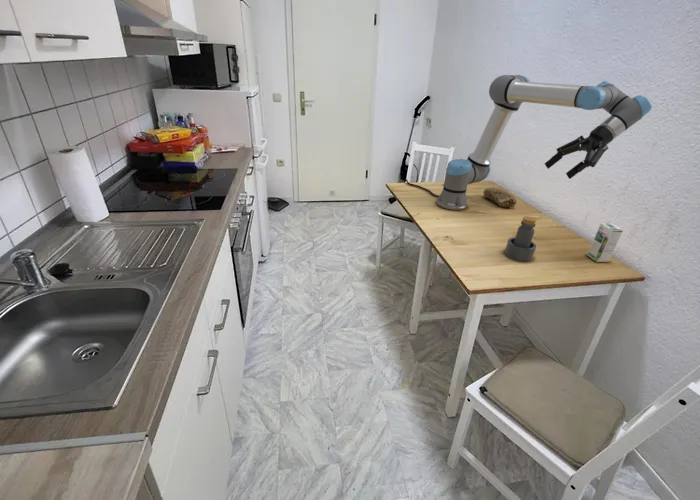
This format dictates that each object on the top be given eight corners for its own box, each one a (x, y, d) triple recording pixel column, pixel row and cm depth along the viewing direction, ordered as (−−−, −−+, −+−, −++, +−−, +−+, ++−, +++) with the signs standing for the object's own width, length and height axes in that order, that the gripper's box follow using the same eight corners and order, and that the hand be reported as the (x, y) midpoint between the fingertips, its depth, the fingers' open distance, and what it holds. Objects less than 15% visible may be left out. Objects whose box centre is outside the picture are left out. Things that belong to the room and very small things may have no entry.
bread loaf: (517, 210, 192) (503, 191, 207) (519, 198, 187) (505, 179, 202) (492, 214, 193) (480, 194, 208) (493, 201, 188) (482, 182, 203)
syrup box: (586, 255, 148) (599, 222, 141) (599, 255, 148) (613, 222, 142) (595, 262, 143) (610, 229, 136) (609, 262, 143) (624, 229, 137)
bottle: (528, 257, 141) (539, 222, 134) (512, 255, 142) (523, 220, 135) (525, 250, 146) (536, 216, 139) (510, 248, 147) (520, 214, 140)
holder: (500, 254, 144) (504, 242, 142) (510, 246, 151) (513, 234, 149) (527, 264, 138) (531, 252, 136) (535, 255, 145) (540, 243, 143)
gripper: (636, 147, 126) (582, 188, 131) (587, 133, 148) (542, 168, 153) (629, 130, 123) (573, 173, 128) (580, 119, 144) (534, 156, 150)
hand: (556, 171), depth 140 cm, fingers open, 13 cm apart
